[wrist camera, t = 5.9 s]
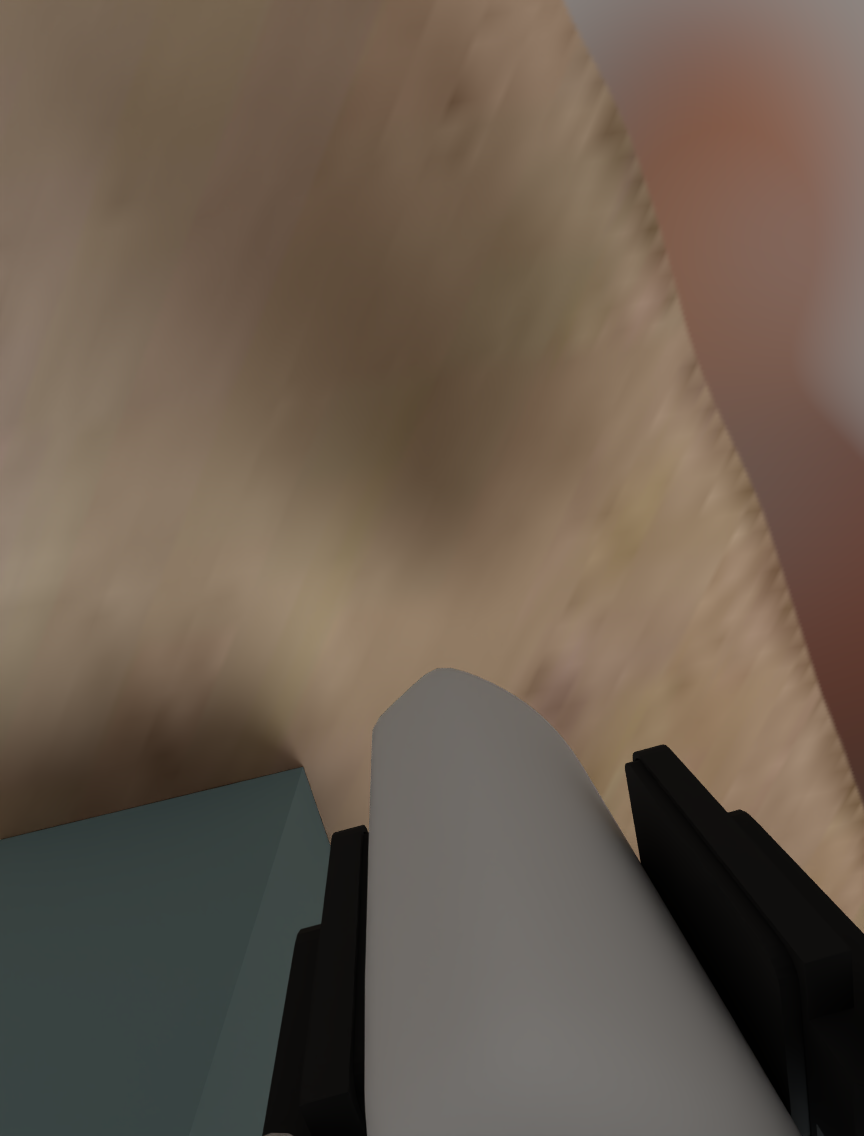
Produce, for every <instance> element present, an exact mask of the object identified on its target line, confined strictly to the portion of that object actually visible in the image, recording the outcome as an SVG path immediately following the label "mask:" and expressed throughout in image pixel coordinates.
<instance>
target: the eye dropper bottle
mask: <svg viewBox="0 0 864 1136" xmlns="http://www.w3.org/2000/svg"><path fill="white" fill-rule="evenodd" d="M365 1114H366V1128H367V1136H801V1134H800V1132H799V1130H798V1128H797V1126H796V1125H795V1123H794V1121H793V1120H792V1118H791V1116H790V1114H789V1113H788V1111H787V1109H786V1108H785V1106H784V1104H783V1103H782V1101H781V1099H780V1097H779V1096H778V1094H777V1092H776V1091H775V1089H774V1087H773V1086H772V1084H771V1082H770V1080H769V1079H768V1077H767V1075H766V1074H765V1072H764V1070H763V1069H762V1067H761V1065H760V1063H759V1062H758V1060H757V1058H756V1057H755V1055H754V1053H753V1052H752V1050H751V1048H750V1047H749V1045H748V1043H747V1041H746V1040H745V1038H744V1036H743V1035H742V1033H741V1031H740V1030H739V1028H738V1026H737V1024H736V1023H735V1021H734V1019H733V1018H732V1016H731V1014H730V1013H729V1011H728V1009H727V1008H726V1006H725V1004H724V1003H723V1001H722V999H721V997H720V996H719V994H718V992H717V991H716V989H715V987H714V986H713V984H712V982H711V981H710V979H709V977H708V976H707V974H706V972H705V971H704V969H703V967H702V966H701V964H700V962H699V961H698V959H697V957H696V955H695V954H694V952H693V950H692V949H691V947H690V945H689V944H688V942H687V940H686V939H685V937H684V935H683V934H682V932H681V930H680V929H679V927H678V925H677V924H676V922H675V920H674V919H673V917H672V915H671V913H670V912H669V910H668V908H667V907H666V905H665V903H664V902H663V900H662V898H661V897H660V895H659V893H658V892H657V890H656V888H655V887H654V885H653V883H652V882H651V880H650V878H649V877H648V875H647V873H646V872H645V870H644V868H643V867H642V865H641V863H640V861H639V860H638V858H637V856H636V855H635V853H634V851H633V850H632V848H631V846H630V845H629V843H628V841H627V840H626V838H625V836H624V835H623V833H622V831H621V830H620V828H619V826H618V825H617V823H616V821H615V820H614V818H613V816H612V815H611V813H610V811H609V810H608V808H607V806H606V805H605V803H604V801H603V800H602V798H601V796H600V795H599V793H598V791H597V789H596V788H595V786H594V784H593V783H592V781H591V779H590V778H589V776H588V774H587V773H586V771H585V769H584V768H583V766H582V765H581V763H580V762H579V760H578V758H577V757H576V755H575V754H574V752H573V751H572V750H571V748H570V747H569V746H568V744H567V743H566V742H565V740H564V739H563V738H562V737H561V736H560V734H559V733H558V732H557V731H556V730H555V729H554V728H553V727H552V726H551V725H550V724H549V723H548V722H547V721H546V720H545V719H544V718H543V717H542V716H541V715H540V714H539V713H538V712H536V711H535V710H534V709H533V708H531V707H530V706H529V705H528V704H526V703H525V702H524V701H522V700H521V699H519V698H518V697H516V696H515V695H513V694H511V693H510V692H508V691H506V690H505V689H503V688H501V687H499V686H497V685H495V684H493V683H491V682H489V681H487V680H485V679H482V678H480V677H478V676H475V675H472V674H470V673H467V672H464V671H460V670H457V669H453V668H437V669H435V670H433V671H431V672H429V673H427V674H425V675H424V676H423V677H422V678H420V679H419V680H418V681H417V682H416V683H415V684H414V685H412V686H411V687H410V688H409V689H408V690H407V691H406V692H405V693H404V694H403V695H402V696H401V697H400V698H399V699H398V700H396V701H395V702H394V703H393V704H392V705H391V706H390V707H389V708H388V709H387V710H386V711H385V712H384V713H383V714H382V715H381V716H380V718H379V719H378V721H377V723H376V725H375V726H374V728H373V733H372V756H371V787H370V818H369V850H368V888H367V926H366V965H365Z"/></svg>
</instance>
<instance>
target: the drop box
mask: <svg viewBox="0 0 864 1136" xmlns="http://www.w3.org/2000/svg"><path fill="white" fill-rule="evenodd" d="M329 856H330V844H329V841H328V838H327V835H326V832H325V829H324V826H323V823H322V820H321V818H320V815H319V812H318V809H317V806H316V803H315V800H314V797H313V794H312V791H311V788H310V786H309V783H308V780H307V777H306V774H305V771H304V768H303V767H300V768H296V769H292V770H288V771H284V772H280V773H276V774H272V775H267V776H263V777H259V778H255V779H251V780H247V781H243V782H238V783H234V784H230V785H226V786H222V787H218V788H214V789H209V790H205V791H201V792H197V793H193V794H189V795H185V796H180V797H176V798H172V799H168V800H164V801H160V802H156V803H151V804H147V805H143V806H139V807H135V808H131V809H127V810H122V811H118V812H114V813H110V814H106V815H102V816H98V817H93V818H89V819H85V820H81V821H77V822H73V823H69V824H64V825H60V826H56V827H52V828H48V829H44V830H40V831H35V832H31V833H27V834H23V835H19V836H15V837H11V838H7V839H2V840H0V1136H262V1133H263V1127H264V1122H265V1116H266V1110H267V1104H268V1098H269V1092H270V1086H271V1080H272V1074H273V1069H274V1063H275V1057H276V1051H277V1045H278V1039H279V1033H280V1027H281V1022H282V1016H283V1010H284V1004H285V998H286V992H287V986H288V980H289V975H290V969H291V963H292V957H293V951H294V945H295V941H296V937H297V934H298V932H299V931H300V929H303V928H307V927H311V926H314V925H318V924H321V920H322V912H323V904H324V896H325V888H326V880H327V872H328V864H329Z"/></svg>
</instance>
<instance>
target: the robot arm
mask: <svg viewBox="0 0 864 1136" xmlns="http://www.w3.org/2000/svg"><path fill="white" fill-rule="evenodd" d="M625 772H626V778H627V784H628V790H629V796H630V802H631V808H632V814H633V819H634V825H635V831H636V837H637V843H638V849H639V855H640V861H641V865H642V867H643V868H644V870H645V872H646V873H647V875H648V877H649V878H650V880H651V882H652V883H653V885H654V887H655V888H656V890H657V892H658V893H659V895H660V897H661V898H662V900H663V902H664V903H665V905H666V907H667V908H668V910H669V912H670V913H671V915H672V917H673V919H674V920H675V922H676V924H677V925H678V927H679V929H680V930H681V932H682V934H683V935H684V937H685V939H686V940H687V942H688V944H689V945H690V947H691V949H692V950H693V952H694V954H695V955H696V957H697V959H698V961H699V962H700V964H701V966H702V967H703V969H704V971H705V972H706V974H707V976H708V977H709V979H710V981H711V982H712V984H713V986H714V987H715V989H716V991H717V992H718V994H719V996H720V997H721V999H722V1001H723V1003H724V1004H725V1006H726V1008H727V1009H728V1011H729V1013H730V1014H731V1016H732V1018H733V1019H734V1021H735V1023H736V1024H737V1026H738V1028H739V1030H740V1031H741V1033H742V1035H743V1036H744V1038H745V1040H746V1041H747V1043H748V1045H749V1047H750V1048H751V1050H752V1052H753V1053H754V1055H755V1057H756V1058H757V1060H758V1062H759V1063H760V1065H761V1067H762V1069H763V1070H764V1072H765V1074H766V1075H767V1077H768V1079H769V1080H770V1082H771V1084H772V1086H773V1087H774V1089H775V1091H776V1092H777V1094H778V1096H779V1097H780V1099H781V1101H782V1103H783V1104H784V1106H785V1108H786V1109H787V1111H788V1113H789V1114H790V1116H791V1118H792V1120H793V1121H794V1123H795V1125H796V1126H797V1128H798V1130H799V1132H800V1134H801V1136H864V934H863V932H862V931H861V930H860V929H859V928H858V927H857V926H856V925H855V924H854V923H853V922H852V921H851V920H850V919H849V918H848V917H847V916H846V915H845V914H844V913H843V912H842V911H841V909H840V908H839V907H838V906H837V905H836V904H835V903H834V902H833V901H832V900H831V899H830V898H829V897H828V896H827V895H826V894H825V893H824V892H823V891H822V890H821V889H820V888H819V886H818V885H817V884H816V883H815V882H814V881H813V880H812V879H811V878H810V877H809V876H808V875H807V874H806V873H805V872H804V871H803V870H802V869H801V868H800V867H799V866H798V864H797V863H796V862H795V861H794V860H793V859H792V858H791V857H790V856H789V855H788V854H787V853H786V852H785V851H784V850H783V849H782V848H781V847H780V846H779V845H778V844H777V843H776V841H775V840H774V839H773V838H772V837H771V836H770V835H769V834H768V833H767V832H766V831H765V830H764V829H763V828H762V827H761V826H760V825H759V824H758V823H757V822H756V821H755V820H754V819H753V818H752V817H751V816H750V815H749V814H748V813H747V812H745V811H742V810H736V811H732V812H729V813H727V811H726V810H725V809H724V808H723V807H722V806H721V805H720V804H719V803H718V802H717V800H716V799H715V798H714V797H713V796H712V795H711V794H710V793H709V792H708V790H707V789H706V788H705V787H704V786H703V785H702V784H701V783H700V782H699V780H698V779H697V778H696V777H695V776H694V775H693V774H692V773H691V772H690V771H689V769H688V768H687V767H686V766H685V765H684V764H683V763H682V762H681V761H680V759H679V758H678V757H677V756H676V755H675V754H674V753H673V752H672V751H671V749H670V748H669V747H667V746H666V745H659V746H655V747H652V748H648V749H644V750H640V751H637V752H634V753H633V762H629V763H626V764H625ZM368 850H369V833H368V831H367V828H366V827H365V825H361V826H357V827H354V828H350V829H346V830H342V831H339V832H335V833H333V835H332V839H331V847H330V856H329V864H328V872H327V880H326V888H325V896H324V904H323V912H322V920H321V924H318V925H314V926H311V927H307V928H303V929H300V931H299V932H298V934H297V937H296V941H295V945H294V951H293V957H292V963H291V969H290V975H289V980H288V986H287V992H286V998H285V1004H284V1010H283V1016H282V1022H281V1027H280V1033H279V1039H278V1045H277V1051H276V1057H275V1063H274V1069H273V1074H272V1080H271V1086H270V1092H269V1098H268V1104H267V1110H266V1116H265V1122H264V1127H263V1133H262V1136H367V1128H366V1114H365V965H366V926H367V888H368Z"/></svg>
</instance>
